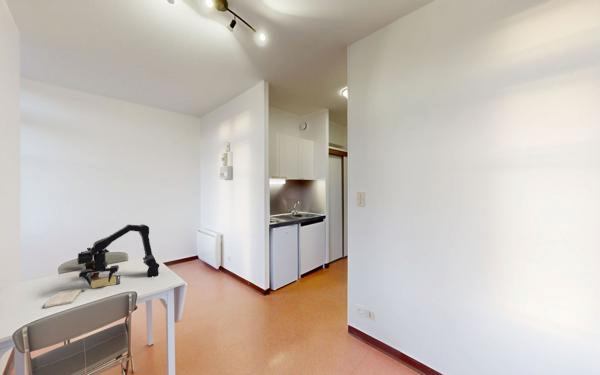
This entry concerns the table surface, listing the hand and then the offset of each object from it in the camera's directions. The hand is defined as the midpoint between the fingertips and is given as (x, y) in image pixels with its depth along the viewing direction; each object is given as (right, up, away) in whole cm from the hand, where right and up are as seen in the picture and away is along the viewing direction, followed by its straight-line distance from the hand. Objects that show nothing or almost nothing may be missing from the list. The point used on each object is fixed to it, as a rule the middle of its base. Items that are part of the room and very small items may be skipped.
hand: (100, 283), depth 144 cm
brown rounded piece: (-19, -4, +16) cm, 25 cm away
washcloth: (-11, -5, -11) cm, 16 cm away
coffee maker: (-38, -3, +32) cm, 50 cm away
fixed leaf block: (-3, -4, +7) cm, 9 cm away
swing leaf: (0, -4, +5) cm, 6 cm away
